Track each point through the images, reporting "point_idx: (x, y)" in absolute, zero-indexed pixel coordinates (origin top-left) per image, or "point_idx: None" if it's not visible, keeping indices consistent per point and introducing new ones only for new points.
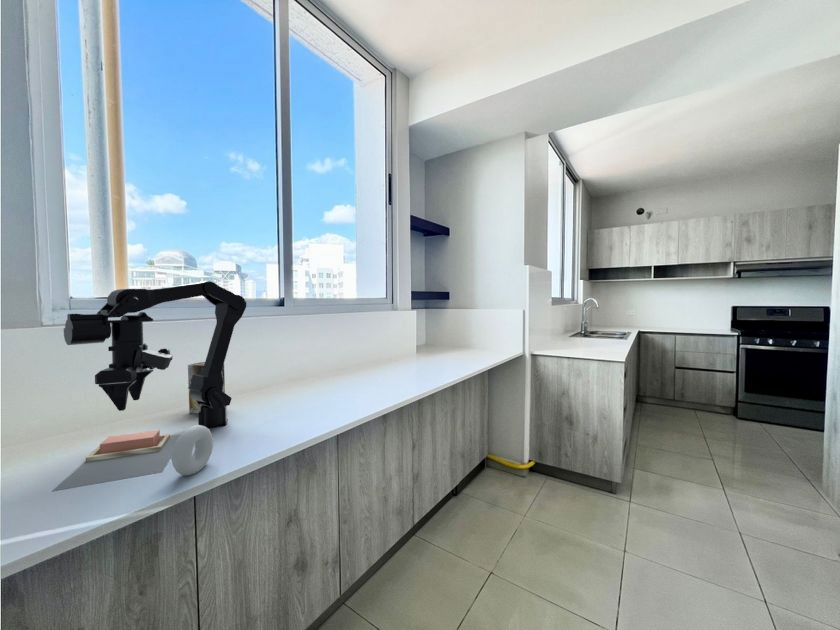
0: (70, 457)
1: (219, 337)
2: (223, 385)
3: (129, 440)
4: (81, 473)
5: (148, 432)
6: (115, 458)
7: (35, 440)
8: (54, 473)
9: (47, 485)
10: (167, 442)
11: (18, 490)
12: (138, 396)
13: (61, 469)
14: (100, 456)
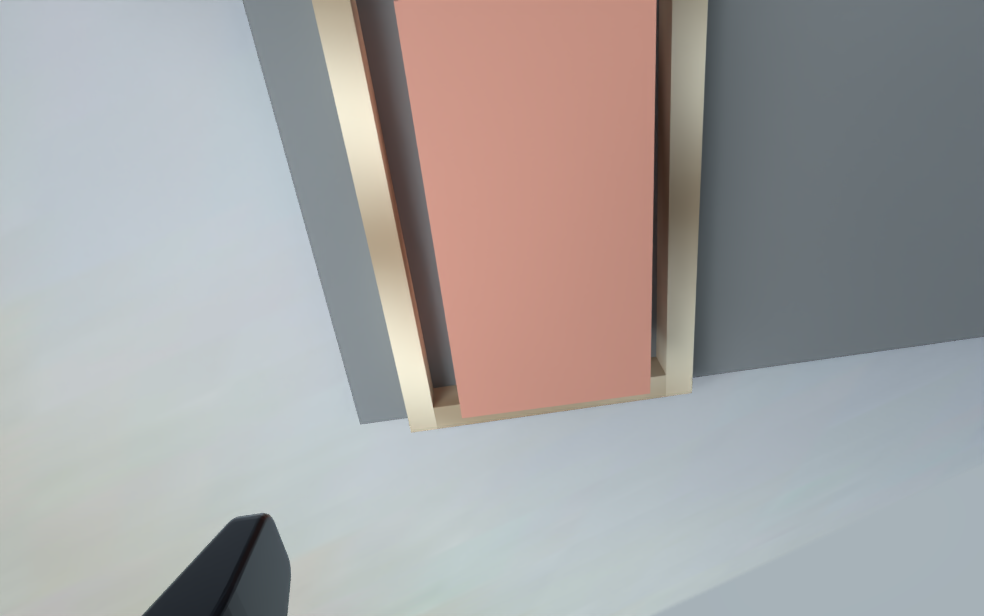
0: (506, 501)
1: None
2: None
3: (652, 197)
4: (887, 301)
5: (453, 107)
6: (704, 215)
7: None
8: (740, 450)
9: (909, 395)
10: None
11: (890, 480)
12: (252, 569)
13: (693, 448)
14: (691, 318)
